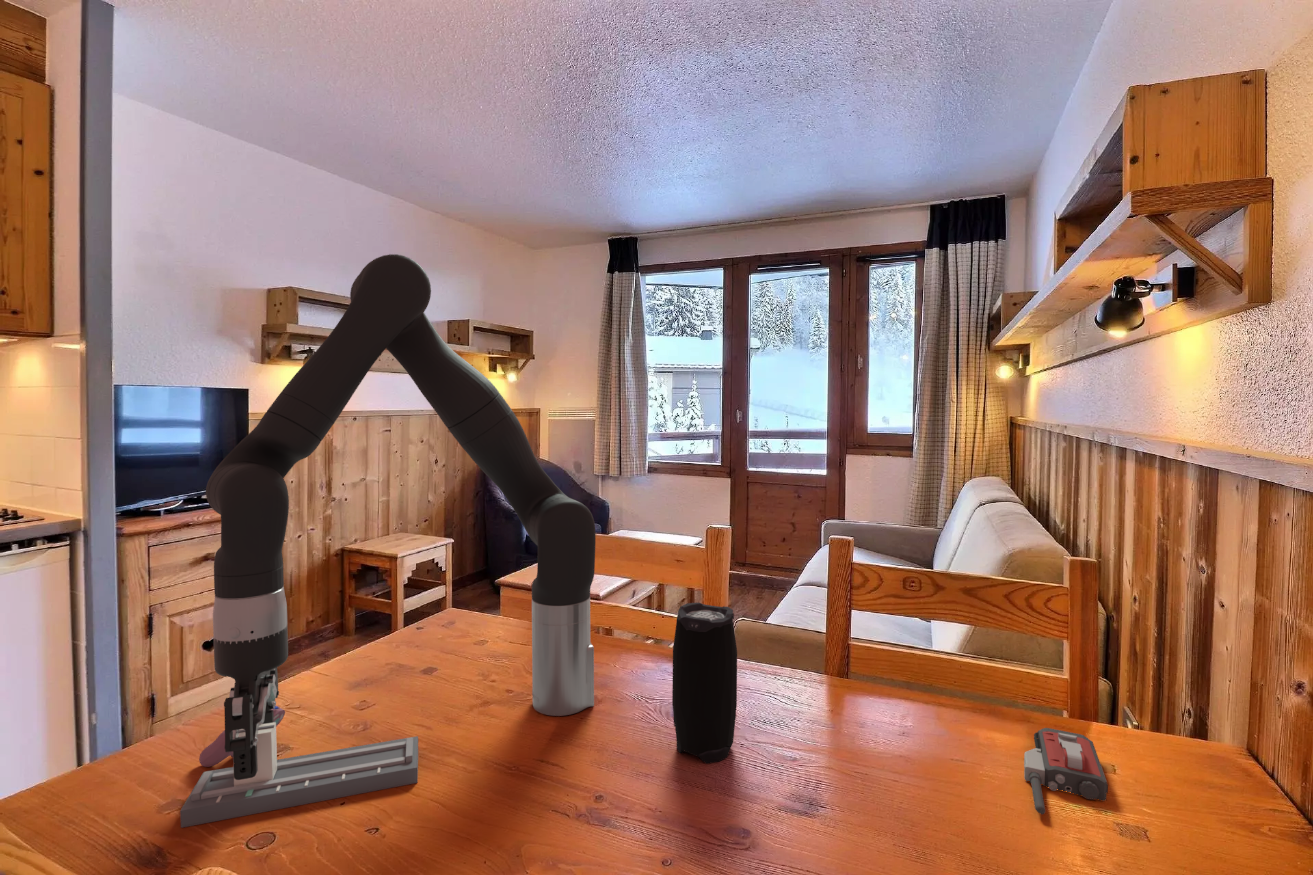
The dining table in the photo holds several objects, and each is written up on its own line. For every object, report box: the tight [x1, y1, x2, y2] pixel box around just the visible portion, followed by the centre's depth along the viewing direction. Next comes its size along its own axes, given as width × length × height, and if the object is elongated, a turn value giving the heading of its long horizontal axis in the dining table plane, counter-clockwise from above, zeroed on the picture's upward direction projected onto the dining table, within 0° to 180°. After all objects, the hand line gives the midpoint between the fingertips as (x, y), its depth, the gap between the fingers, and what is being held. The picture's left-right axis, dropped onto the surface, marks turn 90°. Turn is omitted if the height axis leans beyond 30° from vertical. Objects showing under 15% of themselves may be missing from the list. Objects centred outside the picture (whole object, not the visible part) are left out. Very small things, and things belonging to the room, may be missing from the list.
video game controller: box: [198, 705, 286, 768], centre depth 87 cm, size 10×5×7 cm, turn 169°
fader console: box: [179, 735, 419, 828], centre depth 79 cm, size 25×8×3 cm, turn 110°
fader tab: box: [232, 722, 278, 787], centre depth 77 cm, size 4×2×6 cm, turn 110°
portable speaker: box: [671, 602, 738, 764], centre depth 87 cm, size 9×9×20 cm
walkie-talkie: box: [1023, 727, 1109, 815], centre depth 80 cm, size 9×4×20 cm
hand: (255, 757), depth 77 cm, fingers open, 8 cm apart
